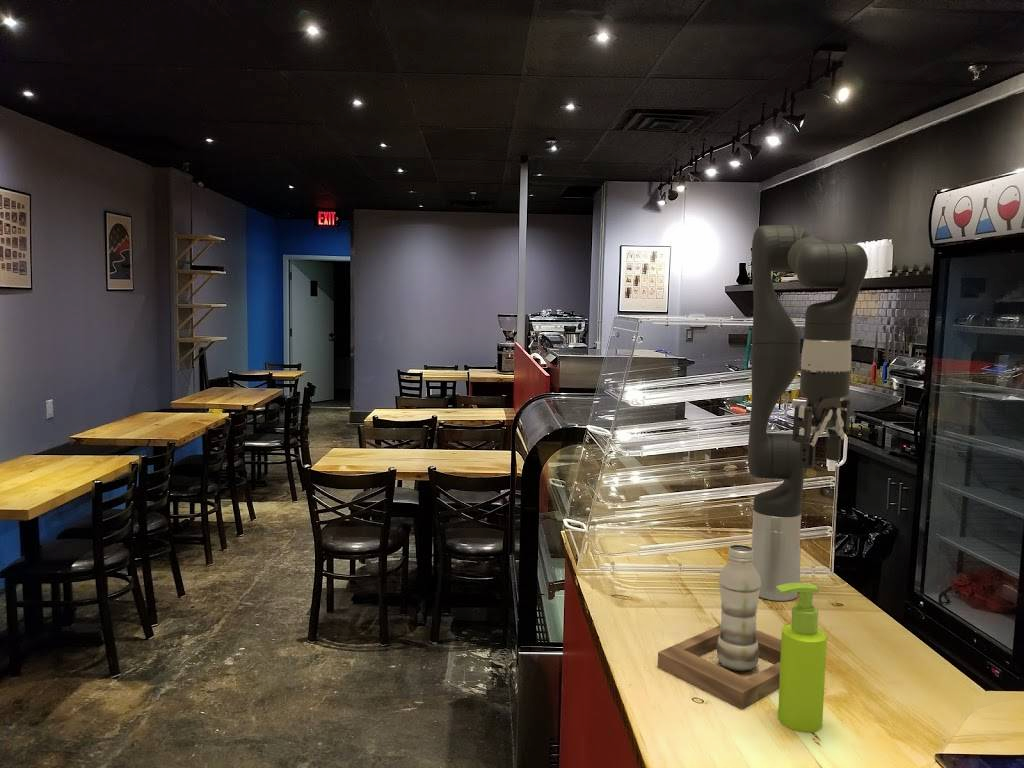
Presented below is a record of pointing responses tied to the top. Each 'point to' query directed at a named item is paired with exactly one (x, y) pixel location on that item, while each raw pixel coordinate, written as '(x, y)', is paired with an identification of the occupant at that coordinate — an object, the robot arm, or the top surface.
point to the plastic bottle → (739, 610)
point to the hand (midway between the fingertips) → (820, 463)
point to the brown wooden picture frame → (717, 679)
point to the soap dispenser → (802, 663)
